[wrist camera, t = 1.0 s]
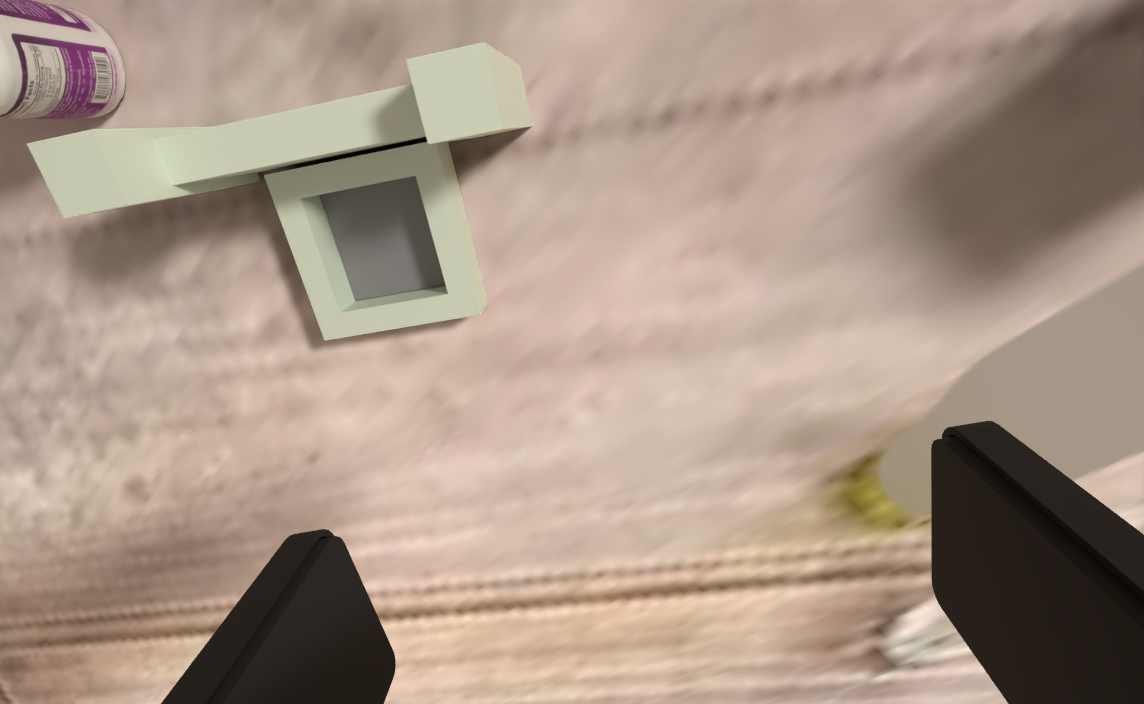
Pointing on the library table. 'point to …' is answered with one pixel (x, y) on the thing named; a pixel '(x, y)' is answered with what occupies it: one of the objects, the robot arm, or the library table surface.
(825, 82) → the library table surface
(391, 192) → the grey holder stand
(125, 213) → the library table surface
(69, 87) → the pill bottle
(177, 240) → the library table surface
